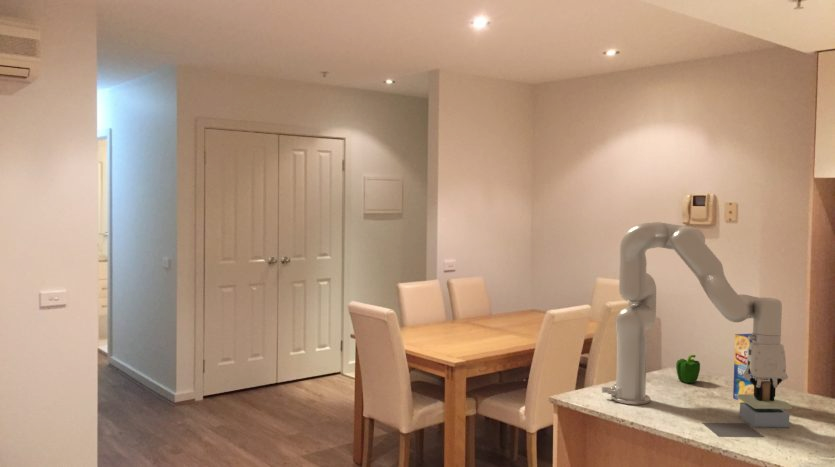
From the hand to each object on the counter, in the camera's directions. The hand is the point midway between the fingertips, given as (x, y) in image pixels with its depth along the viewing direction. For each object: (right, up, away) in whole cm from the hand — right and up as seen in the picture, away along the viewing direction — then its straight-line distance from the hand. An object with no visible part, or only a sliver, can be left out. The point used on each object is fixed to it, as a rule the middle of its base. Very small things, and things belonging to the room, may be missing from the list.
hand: (764, 399), depth 211 cm
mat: (-13, -8, -6) cm, 16 cm away
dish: (0, -8, 0) cm, 8 cm away
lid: (0, -1, 0) cm, 1 cm away
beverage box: (+7, -7, +22) cm, 24 cm away
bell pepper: (-5, -5, +47) cm, 48 cm away
